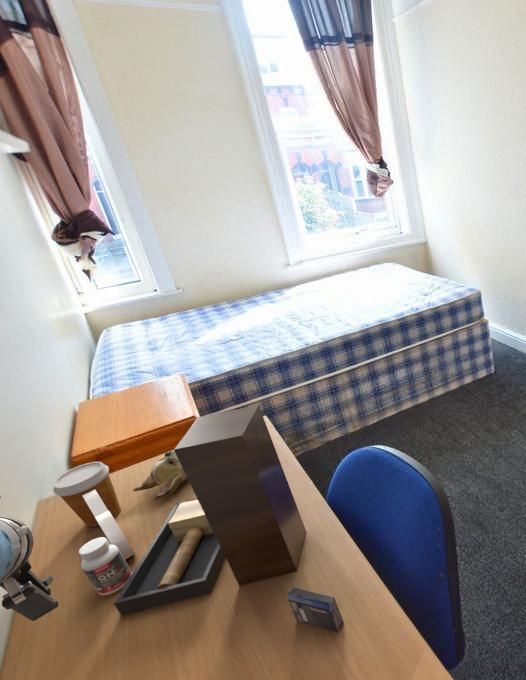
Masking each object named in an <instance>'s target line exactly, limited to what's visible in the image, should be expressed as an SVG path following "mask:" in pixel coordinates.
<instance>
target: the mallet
mask: <svg viewBox="0 0 526 680" xmlns="http://www.w3.org/2000/svg"><path fill="white" fill-rule="evenodd" d="M168 525H169V527H170V528H171V530H172V532H173V534H174V536H175V538H176V540H177V542H179V541H182V543H181V545H180V547H179V549H178V550H177V552H176V554H175V556H174V558H173V559H172V561H171V563H170V565H169V567H168V569H167V570H166V572H165V574H164V576H163V578H162V579H161V581H160V583H159V585H158V587H157V589H161V588H165V587H169V586H173V585H177V584H178V583H179V581H180V579H181V577H182V575H183V573H184V571H185V569H186V567H187V565H188V563H189V561H190V559H191V557H192V555H193V553H194V551H195V549H196V547H197V545H198V543H199V541H200V539H201V537H202V536H204V535H208V534H213V533H214V532H213V530H212V528H211V526H210V524H209V522H208V520H207V518H206V516H205V514H204V512H203V509H202V507H201V505H200V503H199V501H198V499H197V500H193V501H189V502H184V503H180V505H179V506H178V508H177V510H176V511H175V513H174V514H173V516H172V518H171V519H170V521H169V523H168Z"/></svg>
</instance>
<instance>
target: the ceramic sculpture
mask: <svg viewBox="0 0 526 680" xmlns="http://www.w3.org/2000/svg"><path fill="white" fill-rule="evenodd" d="M186 479H188V478H187V476H186V474H185V472H184V470H183V468H182V466H181V464H180V462H179V460H178V457H177V455H176V453H175V451H174V450H170V451H167V452H165V453H164V457H163V458H160V459H159V460H158V461H157V462H155V463H154V464H153V465H152V468H151V469H150V475H148V476H147V477H146V479H145V480H144V481H143V482H142V483H141V485H139V486H137V487H134V488H133V489H132V491H133V492H140V491H145V490H150V489H153V488H155V487H158V488H157V492H156V495H155V497H154V500H159V499H162V498H164V497H166V496H168V495H171V494H172V493H174V492H175V491H176V490H177V488H178V487H179V486H180V484H181V483H182V482H183V481H185V480H186Z"/></svg>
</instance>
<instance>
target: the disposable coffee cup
mask: <svg viewBox="0 0 526 680" xmlns="http://www.w3.org/2000/svg"><path fill="white" fill-rule="evenodd" d="M52 487H53V489H52V493H54V495H57V496H59V497H60V498H61V500H63V501H64V503H65V504H67V506H68V507H69V508H70V509H71V510H72V511H73V512H74V513H75V514H76V515H77V516H78V518H79V519H80V520H81V521H82V522H83V523H84V524H85V525H86V526H87V525H88V526H87V527H89V526H93V525H98V524H99V523H98V522H97V520H96V518H95V516H94V515H93V513H92V511H91V510H90V508H89V506H88V505H87V503H86V501H85V500H84V498H83V496H82V495H85V494H87V493H89V492H91V491H93V490H96V492H97V493H98V495H99V496H100V498H101V499H102V501H103V503H104V504H105V506H106V508H107V509H108V511H109V512H110V513H111V515H112V516H113V518H114V519H115V517H116V516H118V515H119V514H120V512H121V510H122V509H121V506H120V503H119V500H118V496H117V494H116V490H115V488H114V485H113V482H112V479H111V476H110V468H109V466H108V465H106V464H104V463H103V462H102V461H91V462H87V463H83V464H80V465H78V466H75V467H73V468H71V469H69V470H67V471H65V472H64V473H62V474H61V475H60V476H58V477H57V478H56V479H55V480H54V481H53V484H52ZM98 526H99V525H98Z"/></svg>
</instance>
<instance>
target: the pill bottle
mask: <svg viewBox="0 0 526 680" xmlns="http://www.w3.org/2000/svg"><path fill="white" fill-rule="evenodd" d="M78 555H79V556H80V558H81V559H82V560H81V563H80V568H81V569H82V571H83V572H84V575H85V576H86V577H87V579H88V580H89V582H90V583H91V585H92V586H93V588H94V590H95V591H96V592H97V594H98V595H100V596H109V595H111V594H115V593H116V592H118V591H120V590H123V588H124V586H125V585H126V583H127V582H128V580H129V578H130V577H131V575H132V574H133V571H132V569H131V567H130V566H129V564H128V563H127V561H126V560H125V559H124V558H123V556H122V554H121V552H120V551H119V549H118V548H117V546H115V545H112V544H111V543H110V542H109V540H108V538H107V537H104V536H99V537H96V538H93V539H91V540H89V541H88V542H86V543H84V544H83V545H82V546H81V547H80V548H79V550H78Z"/></svg>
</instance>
